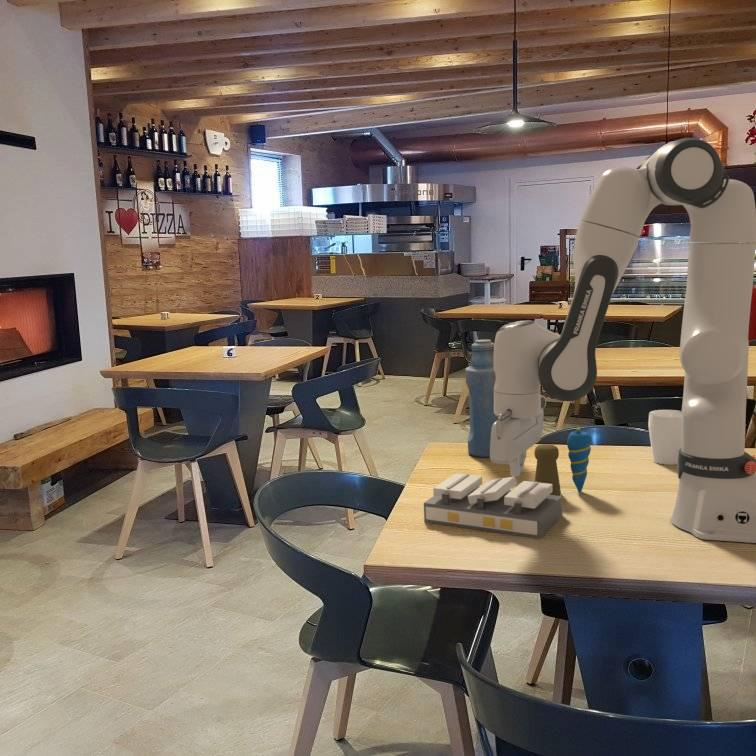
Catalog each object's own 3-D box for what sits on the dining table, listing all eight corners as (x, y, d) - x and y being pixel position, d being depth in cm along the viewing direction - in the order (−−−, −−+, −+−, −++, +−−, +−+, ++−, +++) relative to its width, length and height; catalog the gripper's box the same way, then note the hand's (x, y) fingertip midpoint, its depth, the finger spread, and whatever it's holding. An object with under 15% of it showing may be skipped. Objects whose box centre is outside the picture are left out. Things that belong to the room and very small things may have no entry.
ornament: (595, 491, 175) (595, 424, 172) (584, 497, 171) (584, 428, 169) (574, 486, 178) (574, 421, 176) (562, 492, 175) (562, 426, 172)
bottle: (507, 457, 205) (505, 341, 200) (469, 459, 205) (466, 343, 200) (502, 448, 214) (500, 337, 209) (465, 449, 214) (462, 338, 210)
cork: (541, 488, 178) (540, 440, 177) (566, 492, 175) (565, 443, 173) (527, 495, 174) (527, 446, 172) (553, 500, 170) (552, 450, 168)
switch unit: (562, 515, 161) (562, 485, 160) (539, 539, 148) (539, 507, 147) (453, 501, 172) (452, 473, 171) (423, 522, 160) (422, 492, 159)
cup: (690, 458, 196) (691, 411, 194) (682, 468, 189) (683, 418, 187) (653, 455, 201) (653, 408, 199) (643, 464, 194) (644, 415, 192)
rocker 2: (552, 491, 159) (552, 482, 159) (534, 508, 150) (534, 499, 149) (523, 488, 162) (523, 479, 162) (503, 505, 153) (503, 495, 152)
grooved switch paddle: (482, 483, 167) (482, 474, 166) (460, 499, 157) (460, 490, 157) (456, 480, 170) (456, 471, 169) (433, 496, 160) (432, 486, 160)
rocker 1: (517, 483, 163) (514, 474, 163) (496, 500, 153) (494, 490, 153) (490, 487, 166) (488, 479, 166) (469, 504, 156) (466, 494, 156)
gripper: (513, 417, 143) (514, 491, 146) (548, 396, 161) (548, 462, 163) (481, 414, 147) (481, 487, 149) (519, 394, 164) (519, 459, 166)
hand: (517, 474), depth 156 cm, fingers closed
